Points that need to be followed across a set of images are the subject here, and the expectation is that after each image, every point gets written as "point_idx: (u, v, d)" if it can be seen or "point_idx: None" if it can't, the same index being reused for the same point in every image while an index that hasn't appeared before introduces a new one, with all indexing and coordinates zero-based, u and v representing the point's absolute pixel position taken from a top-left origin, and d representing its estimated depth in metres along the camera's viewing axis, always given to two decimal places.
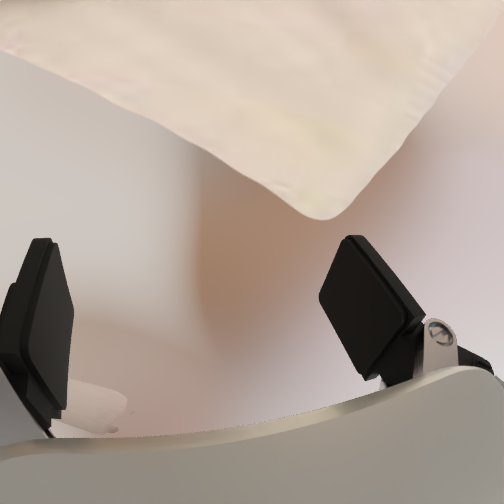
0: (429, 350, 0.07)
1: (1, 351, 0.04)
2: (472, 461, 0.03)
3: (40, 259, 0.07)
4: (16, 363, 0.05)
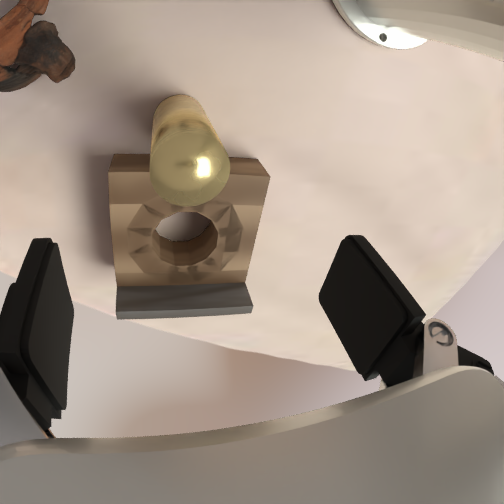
0: (429, 350, 0.07)
1: (1, 351, 0.04)
2: (472, 461, 0.03)
3: (40, 259, 0.07)
4: (16, 363, 0.05)
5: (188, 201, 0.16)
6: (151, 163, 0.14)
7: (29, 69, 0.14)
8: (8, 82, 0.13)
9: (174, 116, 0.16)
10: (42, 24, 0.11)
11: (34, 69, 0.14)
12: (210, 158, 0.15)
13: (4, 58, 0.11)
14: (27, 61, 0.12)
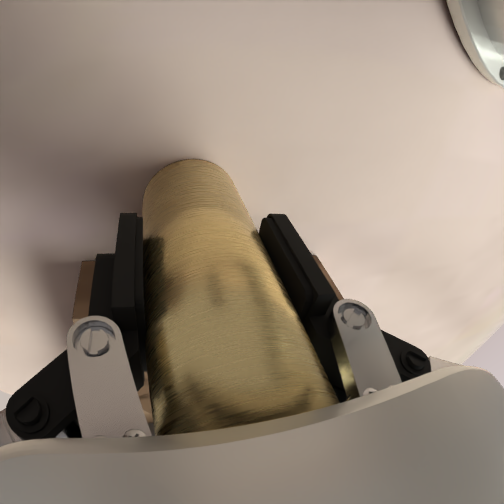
0: (350, 342, 0.07)
1: (118, 306, 0.06)
2: (472, 461, 0.03)
3: (134, 230, 0.08)
4: (128, 319, 0.06)
5: None
6: None
7: None
8: None
9: (193, 271, 0.07)
10: None
11: None
12: None
13: None
14: None
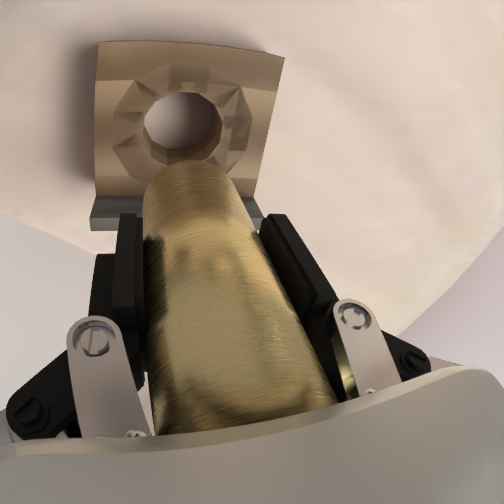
0: (350, 342, 0.07)
1: (117, 306, 0.06)
2: (472, 461, 0.03)
3: (134, 230, 0.08)
4: (128, 319, 0.06)
5: None
6: None
7: None
8: None
9: (193, 273, 0.07)
10: None
11: None
12: None
13: None
14: None
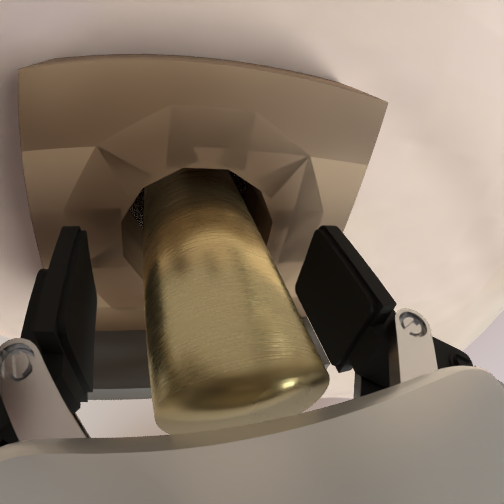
0: (403, 344, 0.07)
1: (38, 330, 0.05)
2: (472, 461, 0.03)
3: (71, 245, 0.07)
4: (52, 342, 0.05)
5: None
6: (157, 411, 0.06)
7: None
8: None
9: (190, 244, 0.08)
10: None
11: None
12: (291, 388, 0.06)
13: None
14: None
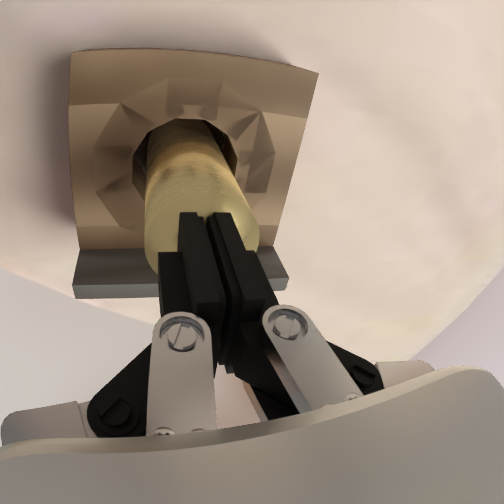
0: (290, 357, 0.06)
1: (204, 302, 0.07)
2: (472, 461, 0.03)
3: (199, 228, 0.09)
4: (210, 314, 0.07)
5: None
6: (146, 236, 0.10)
7: None
8: None
9: (176, 155, 0.12)
10: None
11: None
12: None
13: None
14: None
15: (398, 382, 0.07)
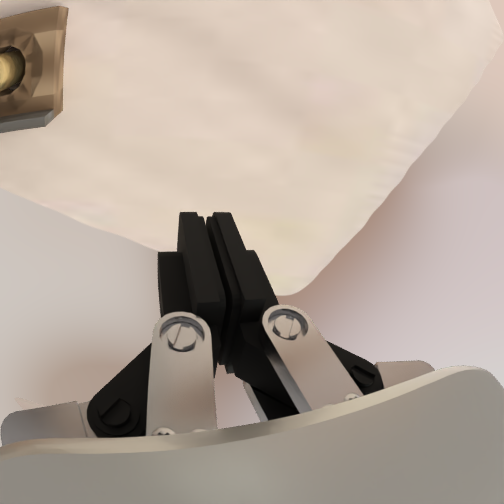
0: (290, 357, 0.06)
1: (203, 302, 0.07)
2: (472, 461, 0.03)
3: (199, 228, 0.09)
4: (210, 314, 0.07)
5: None
6: None
7: None
8: None
9: None
10: None
11: None
12: None
13: None
14: None
15: (398, 382, 0.07)
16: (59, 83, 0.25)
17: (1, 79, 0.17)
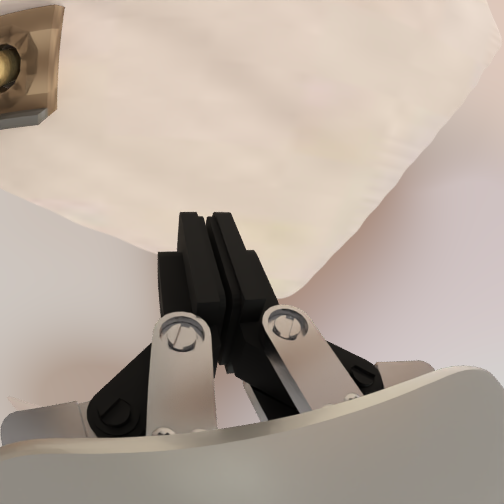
0: (290, 357, 0.06)
1: (204, 302, 0.07)
2: (472, 461, 0.03)
3: (199, 228, 0.09)
4: (210, 314, 0.07)
5: None
6: None
7: None
8: None
9: None
10: None
11: None
12: None
13: None
14: None
15: (398, 382, 0.07)
16: (53, 82, 0.24)
17: None
